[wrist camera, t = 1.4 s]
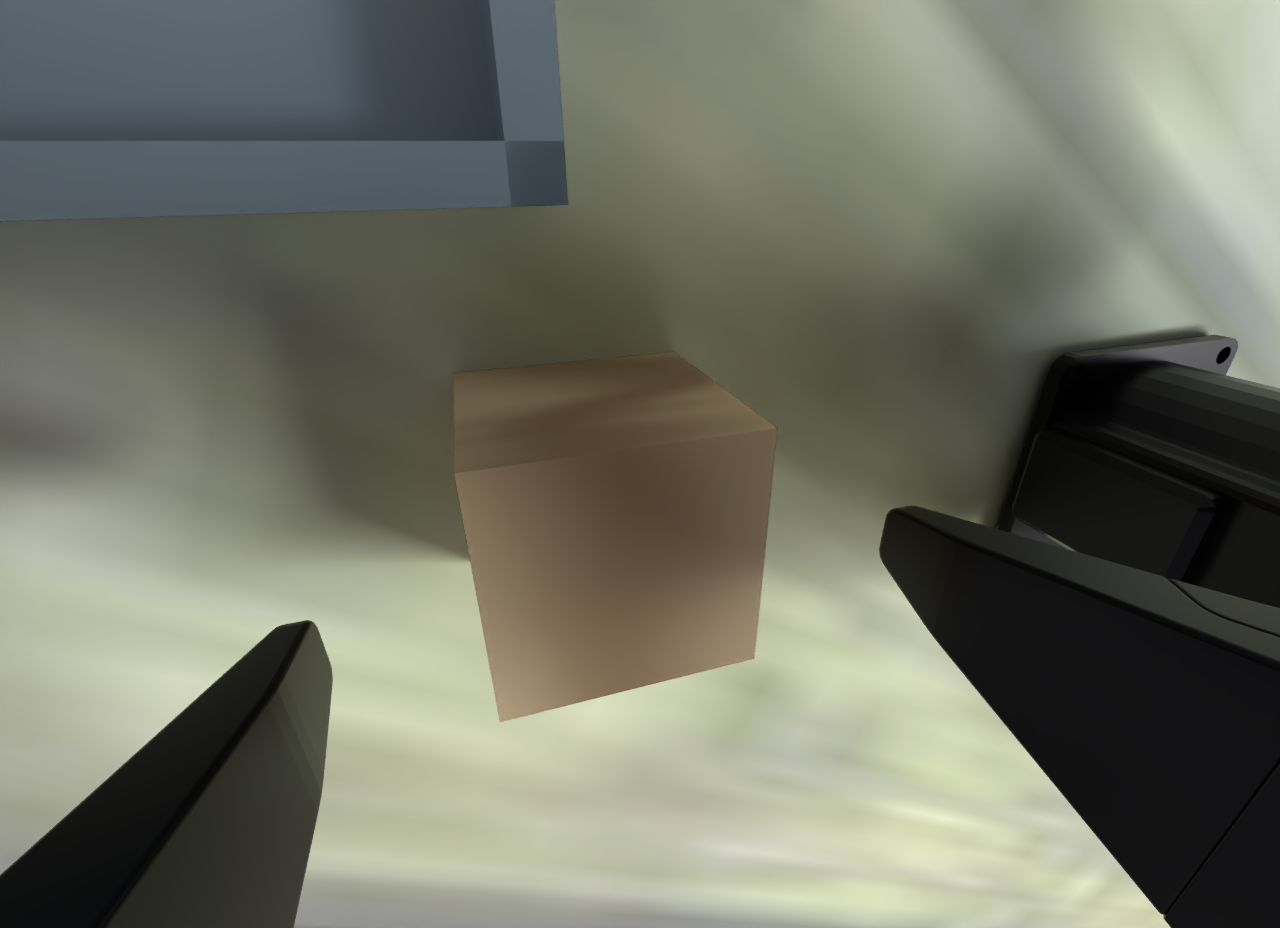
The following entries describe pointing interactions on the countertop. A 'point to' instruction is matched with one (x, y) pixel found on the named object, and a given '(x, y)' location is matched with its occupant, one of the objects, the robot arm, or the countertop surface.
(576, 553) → the oak cube
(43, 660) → the countertop surface
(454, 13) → the tray
